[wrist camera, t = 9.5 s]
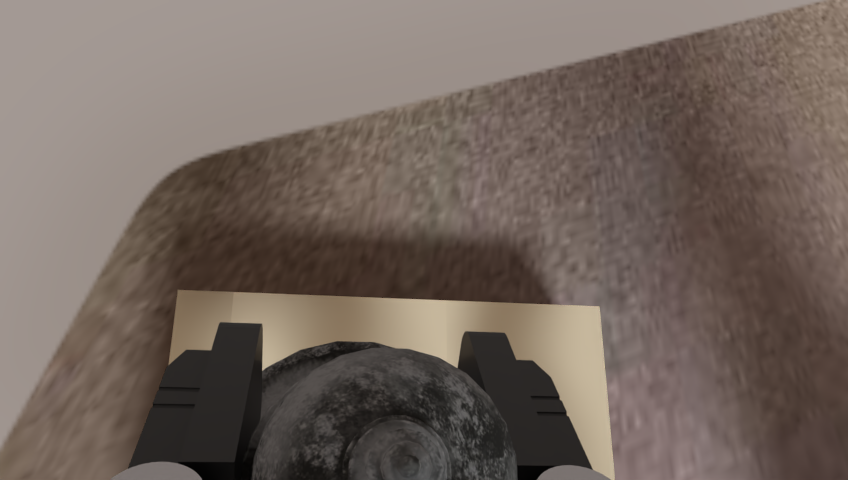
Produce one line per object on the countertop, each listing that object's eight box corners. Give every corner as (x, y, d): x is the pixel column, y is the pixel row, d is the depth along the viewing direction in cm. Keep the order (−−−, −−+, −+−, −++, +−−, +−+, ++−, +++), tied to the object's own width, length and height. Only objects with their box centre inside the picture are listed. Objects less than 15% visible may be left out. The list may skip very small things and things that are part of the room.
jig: (566, 329, 32) (599, 306, 28) (589, 658, 28) (632, 682, 24) (194, 316, 30) (177, 289, 26) (153, 672, 25) (126, 701, 22)
